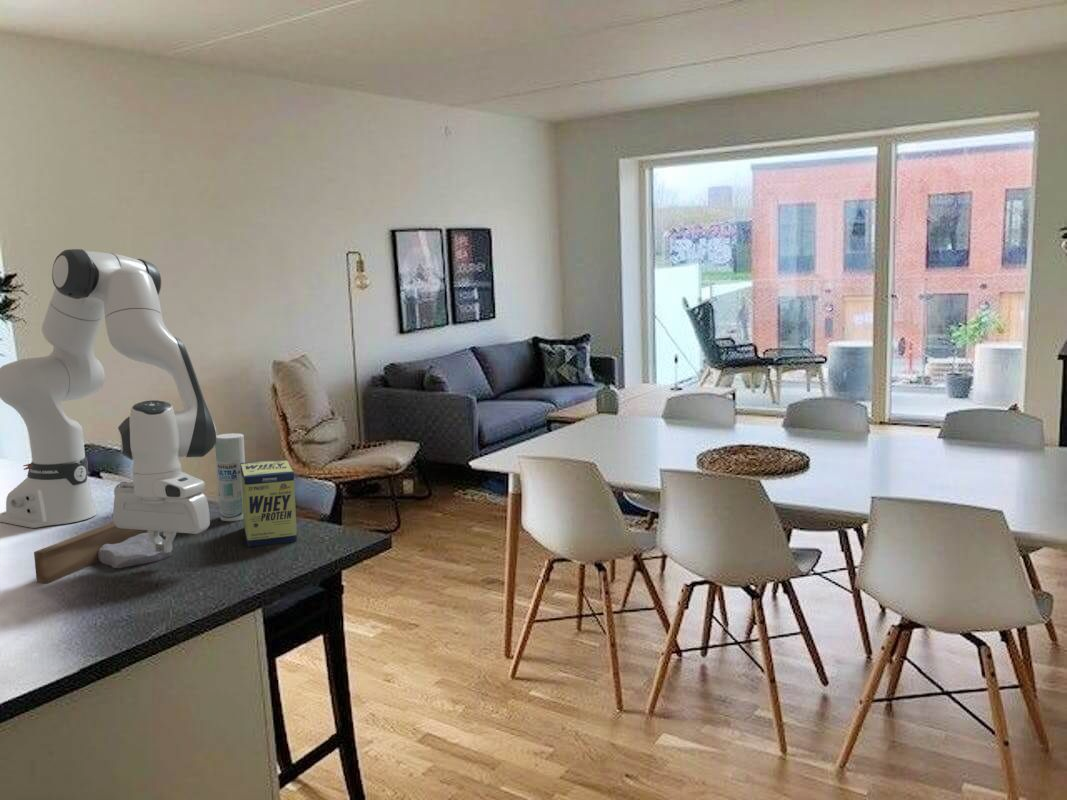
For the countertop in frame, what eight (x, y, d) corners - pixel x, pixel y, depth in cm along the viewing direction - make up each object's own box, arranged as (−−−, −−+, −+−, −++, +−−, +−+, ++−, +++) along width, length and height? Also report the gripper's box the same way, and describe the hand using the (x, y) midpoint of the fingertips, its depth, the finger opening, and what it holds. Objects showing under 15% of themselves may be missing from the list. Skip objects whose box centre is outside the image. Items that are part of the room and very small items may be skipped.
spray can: (215, 521, 203) (210, 438, 200) (225, 513, 210) (221, 433, 207) (242, 521, 203) (237, 438, 200) (252, 513, 209) (247, 433, 207)
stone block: (176, 564, 179) (151, 546, 184) (176, 543, 177) (151, 526, 183) (119, 582, 170) (95, 563, 175) (119, 561, 168) (94, 541, 174)
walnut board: (36, 582, 163) (33, 551, 162) (139, 538, 190) (137, 512, 189) (47, 583, 162) (44, 553, 162) (149, 539, 189) (147, 513, 188)
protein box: (247, 547, 184) (243, 476, 181) (243, 528, 198) (239, 462, 196) (298, 541, 187) (294, 472, 185) (289, 523, 202) (286, 458, 199)
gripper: (102, 484, 169) (108, 552, 171) (191, 490, 164) (196, 560, 166) (125, 477, 175) (131, 543, 177) (212, 482, 170) (216, 550, 172)
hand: (163, 551), depth 171 cm, fingers closed
